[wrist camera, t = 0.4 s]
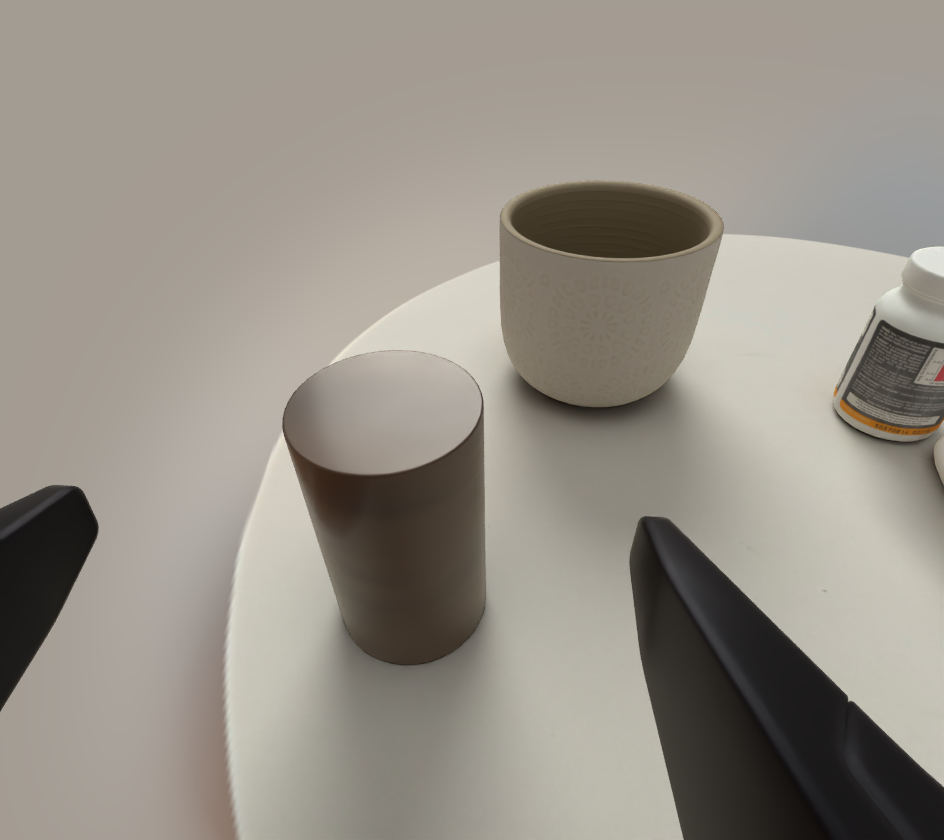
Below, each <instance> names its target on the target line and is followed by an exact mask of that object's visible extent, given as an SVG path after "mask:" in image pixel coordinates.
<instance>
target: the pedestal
mask: <svg viewBox="0 0 944 840" xmlns="http://www.w3.org/2000/svg"><path fill="white" fill-rule="evenodd" d="M283 433H284V437H285V440H286V443H287V446H288V449H289V452H290V456H291V459H292V462H293V465H294V468H295V471H296V474H297V477H298V480H299V483H300V487H301V490H302V493H303V496H304V499H305V502H306V505H307V508H308V511H309V515H310V518H311V521H312V524H313V527H314V530H315V533H316V536H317V539H318V542H319V546H320V549H321V552H322V555H323V558H324V561H325V564H326V567H327V570H328V574H329V577H330V580H331V583H332V586H333V589H334V592H335V595H336V598H337V602H338V605H339V608H340V611H341V614H342V617H343V620H344V623H345V626H346V628H347V631H348V632H349V634H350V636H351V637H352V639H353V640H354V641H355V642H356V644H357V645H358V646H359V647H360V648H362V649H363V650H364V651H365V652H367V653H368V654H370V655H372V656H373V657H376V658H378V659H380V660H383V661H386V662H390V663H395V664H408V665H412V664H421V663H425V662H429V661H433V660H436V659H438V658H441V657H443V656H445V655H447V654H449V653H450V652H452V651H453V650H455V649H456V648H458V647H459V646H460V645H461V644H462V643H464V642H465V641H466V640H467V639H468V637H469V636H470V635H471V634H472V633H473V631H474V630H475V628H476V627H477V625H478V623H479V621H480V619H481V617H482V614H483V611H484V608H485V601H486V567H485V487H484V408H483V397H482V393H481V391H480V388H479V386H478V384H477V383H476V381H475V380H474V378H473V377H472V376H471V375H470V374H469V373H468V372H467V371H465V370H464V369H463V368H461V367H460V366H458V365H457V364H455V363H453V362H451V361H449V360H447V359H444V358H442V357H439V356H435V355H432V354H427V353H423V352H416V351H404V350H391V351H379V352H372V353H366V354H362V355H357V356H354V357H350V358H347V359H344V360H342V361H339V362H336V363H334V364H332V365H330V366H328V367H326V368H324V369H322V370H321V371H319V372H317V373H316V374H314V375H313V376H311V377H310V378H309V379H307V380H306V381H305V382H304V383H303V384H302V385H301V386H299V388H298V389H297V390H296V391H295V392H294V393H293V395H292V397H291V398H290V400H289V401H288V403H287V406H286V408H285V411H284V416H283Z"/></svg>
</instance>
